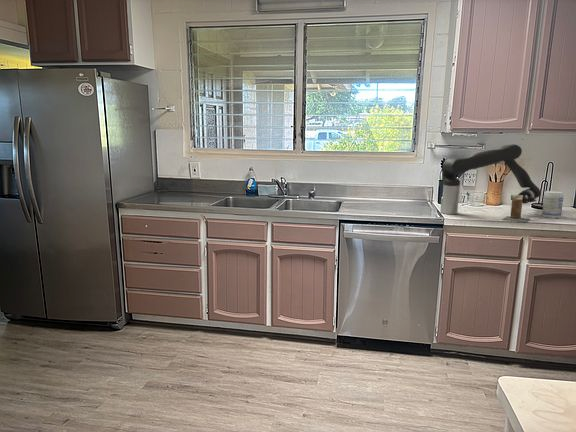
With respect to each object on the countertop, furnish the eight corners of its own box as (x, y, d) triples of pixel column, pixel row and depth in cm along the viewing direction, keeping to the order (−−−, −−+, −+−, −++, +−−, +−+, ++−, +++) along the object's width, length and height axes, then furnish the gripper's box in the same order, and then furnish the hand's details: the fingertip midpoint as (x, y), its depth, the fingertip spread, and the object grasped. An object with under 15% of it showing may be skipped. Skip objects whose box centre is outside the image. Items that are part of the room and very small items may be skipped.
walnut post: (510, 218, 238) (512, 195, 236) (511, 216, 242) (514, 194, 239) (518, 219, 236) (521, 196, 233) (520, 217, 239) (523, 195, 236)
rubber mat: (502, 219, 236) (502, 219, 236) (507, 216, 244) (507, 216, 244) (526, 222, 228) (526, 221, 228) (530, 219, 237) (530, 218, 236)
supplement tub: (561, 219, 237) (564, 193, 234) (542, 217, 242) (545, 192, 239) (560, 216, 246) (563, 191, 243) (541, 214, 250) (544, 190, 247)
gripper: (513, 189, 258) (506, 192, 245) (539, 191, 249) (534, 194, 236) (512, 201, 259) (505, 205, 247) (538, 203, 251) (532, 207, 238)
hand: (519, 200), depth 241 cm, fingers open, 4 cm apart
